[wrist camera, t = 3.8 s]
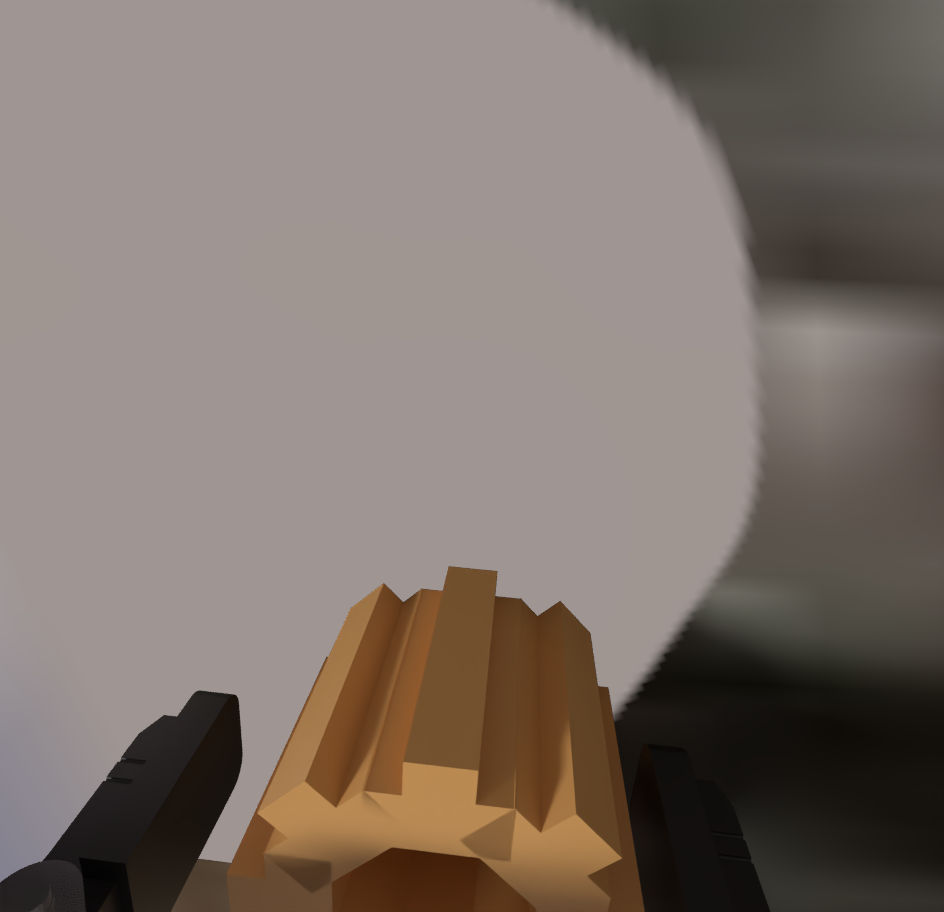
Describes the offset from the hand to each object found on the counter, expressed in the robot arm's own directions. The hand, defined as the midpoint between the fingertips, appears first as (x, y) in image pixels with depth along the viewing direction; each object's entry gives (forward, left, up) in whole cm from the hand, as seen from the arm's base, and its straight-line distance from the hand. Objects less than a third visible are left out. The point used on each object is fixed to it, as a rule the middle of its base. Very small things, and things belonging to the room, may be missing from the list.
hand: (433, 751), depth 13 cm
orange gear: (0, 0, -2) cm, 2 cm away
